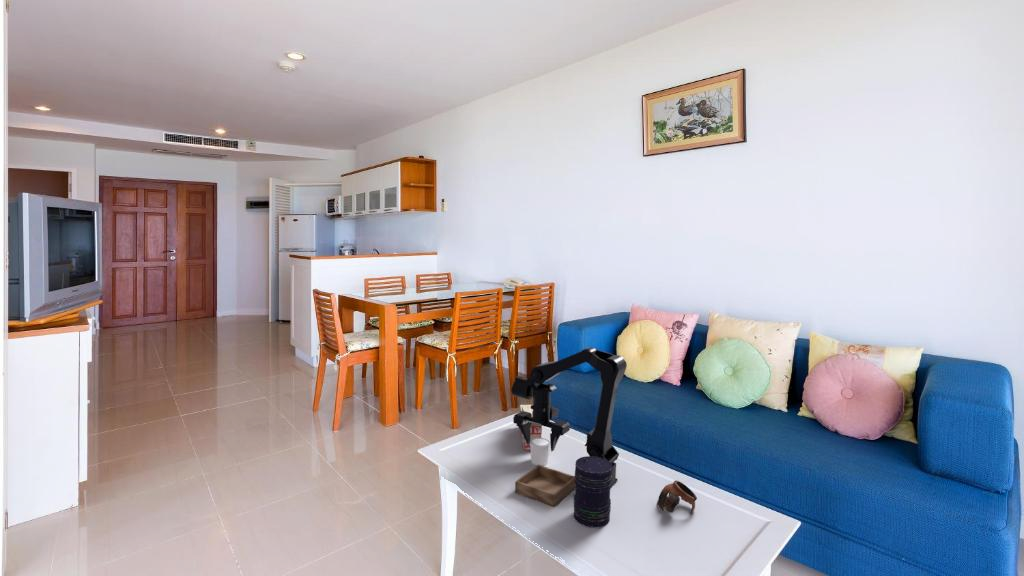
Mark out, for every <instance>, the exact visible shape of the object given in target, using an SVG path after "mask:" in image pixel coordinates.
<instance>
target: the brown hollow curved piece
mask: <svg viewBox="0 0 1024 576" xmlns="http://www.w3.org/2000/svg"><path fill="white" fill-rule="evenodd" d="M697 499H698V498H697V496H696V493H694V492H693V491H692V490H691V488H689V487H688V486H687V485H686V484H684V483H683V482H681V481H679V480H678V479H677V480H675V479H674V481H673V482H672V483H669V484H666V485H665V486H664V487H663V488H662V489H661V491H660V494H659V495H658V498H657V501H656V504H657V506H658V509H660V511H664V510H666V512H668V513H674V511H675V510H676V507H677V506H678V505H679V504H680V500H682V501H684V502H685V503H688V504H689V505H691V509H690V511H689V513H690V514H693V513H694V511H695V509H696V502H695V501H696V500H697Z"/></svg>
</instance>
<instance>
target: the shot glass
mask: <svg viewBox="0 0 1024 576" xmlns="http://www.w3.org/2000/svg"><path fill="white" fill-rule="evenodd" d="M530 449H531V451H530V460H531V461H530V462H531V464H533V465H535V466H537V465H541V466H546V465H548V464H549V457H550V451H551V444H550V439H547V438H544V437H541V438H534V439H532V440H530Z"/></svg>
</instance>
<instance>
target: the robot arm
mask: <svg viewBox="0 0 1024 576" xmlns="http://www.w3.org/2000/svg"><path fill="white" fill-rule="evenodd" d="M585 363H587V364H589V365H590V366H591V367H592V368H593V369H594V370H596V371H598V372H599V374H600V380H601V392H600V399H599V404H598V409H597V416H596V420H595V427H593V428H592V429H591V430H590V431H589V432H588V433H586V443H585V444H584V447H586V449H585V450H586V454H588V456H594V457H600V458H603V459H606V460H608V461H609V462H610V463H611V464H612V485H611V488H612V487H613V486H614V485H615V484H616V483H617V482H618V480H619V479H618V478H616V477H617V475H616V474H617V463H616V462H615V461H617V460H618V458H619V457H620V453H619V452H618V451H617V449H616V448H615V446H614V445H613V435H612V431H611V428H612V427H611V426H612V422H613V421H612V420H613V415H614V411H615V410H614V409H615V403H616V398H617V392H618V387H619V385H620V383H621V382H622V379H623V378H624V375H625V373H626V370H627V366H628V364H627V361H626V360H625V359H624V357H623V356H622V355H620V354H619V355H618V354H615V355H614V354H612V353H610V352H608V351H603V350H599V349H597V348H595V347H592V346H588V347H586V348H584V349H582V350H581V351H578V352H576V353H573V354H572V355H568V356H566V357H564V358H562V359H560V360H557V361H548V362H544V363H540V364H538V365H536V366H534V367H533V368H532V369H531V370H530V375H529V376H528V377H527V378H526V377H523V376H516V377H515V379H514V381H513V384H512V386H511V390H510V391H511V395H512V396H513V397H516V398H520V399H525V400H530V399H531V398H532V404H530V405H531V409H533V417H532V414H531V413H529V412H525V411H521V412H520V411H519V412H516V414H514V416H513V418H512V420H513V421H512V422H513V424H516V427H518V429H519V431H520V430H521V432H522V434H523V436H524V438H525V440H526V442H527V444H530V427H531V424H532V423H534V424H537V425H541V426H542V427H546V428H548V429H549V428H550V432H551V433H549V438H550V439H549V441H550V451H551V452H554V451H555V448H556V446H557V443H558V441H559V438H560V437H561V436H564V435H565V434H567V433H569V431H570V430H571V424H570V423H569V422H568V421H565V420H562V419H558V416H559V411H560V409H559V408H556V407H553V404H552V403H551V393H552V392H555V391H556V390H557V389H558V388H557V387H556V386H555V384H554V383H553V382H549V381H550V380H552V379H553V378H555V377H556V376H558V375H559V374H561V373H562V372H564V371H567V370H569V369H572V368H575V367H577V366H580V365H582V364H585ZM545 382H549V383H545ZM554 419H558V420H556V421H555V422H553V421H552V420H554ZM521 432H520V433H521Z"/></svg>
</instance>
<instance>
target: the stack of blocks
mask: <svg viewBox="0 0 1024 576" xmlns="http://www.w3.org/2000/svg"><path fill="white" fill-rule="evenodd" d="M531 405H532V404H520V405H519V412H521V411H525V412H529V413H531V414H532V417H533V409H531ZM542 428H543V426H541V425H537V424H534V423H532V424H531V427H530V440H532V439H534V438H542V432H543V429H542ZM519 431H520V436H521V441H522V448H523V450H522V451H524V452H525V451H527V452H529V451H530V452H531V449H530V444H527V442H526V440H525V438H524V436H523V434H522V432H521V430H520V429H519Z"/></svg>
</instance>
